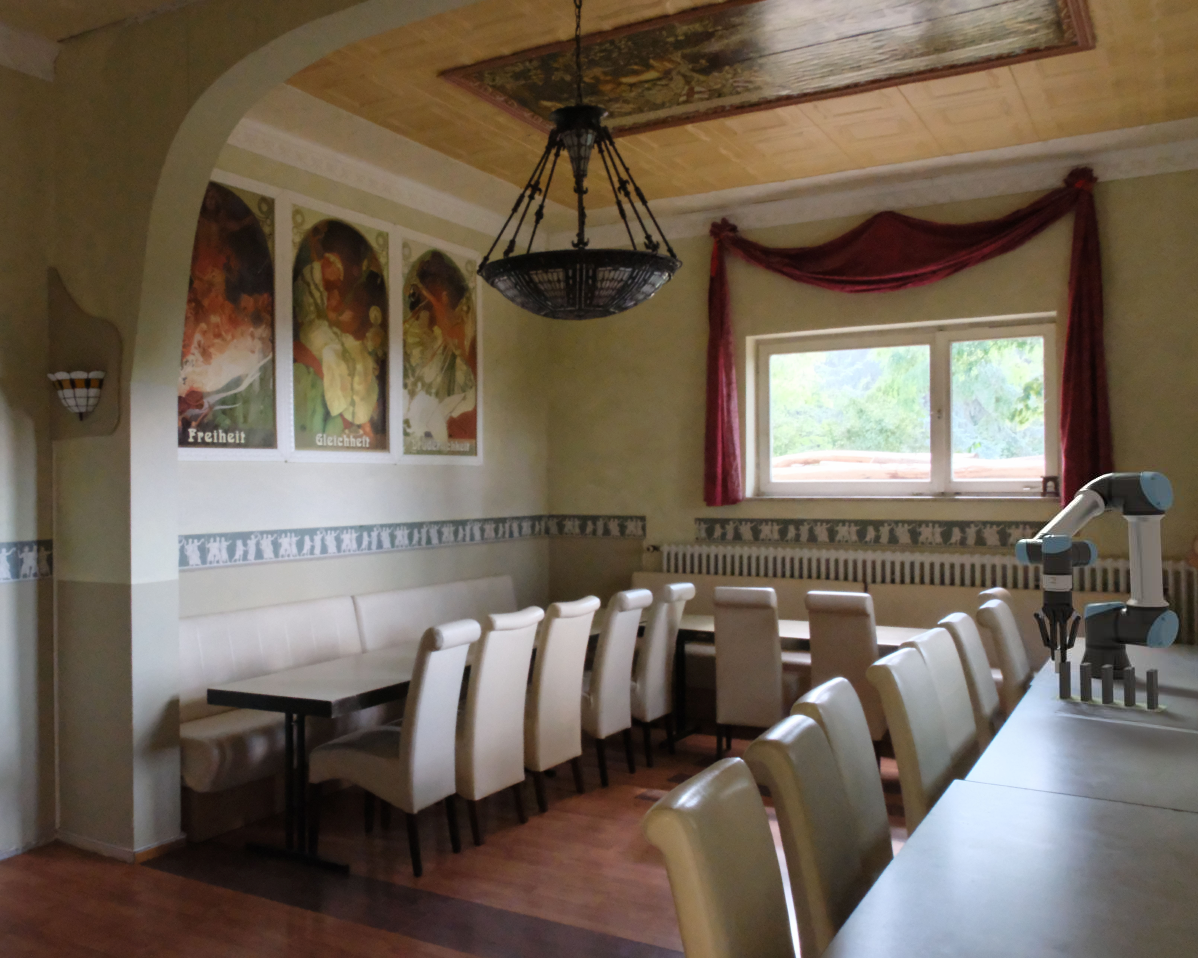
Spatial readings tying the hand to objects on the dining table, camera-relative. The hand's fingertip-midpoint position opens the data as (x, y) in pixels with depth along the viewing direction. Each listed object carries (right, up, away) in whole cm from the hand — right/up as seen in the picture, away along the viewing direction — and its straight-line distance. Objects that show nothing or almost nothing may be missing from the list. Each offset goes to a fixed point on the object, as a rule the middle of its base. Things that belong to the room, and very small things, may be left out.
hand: (1059, 672), depth 276 cm
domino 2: (+5, -7, -5) cm, 10 cm away
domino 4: (+14, -6, -12) cm, 19 cm away
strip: (+9, -7, -8) cm, 15 cm away
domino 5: (+18, -6, -16) cm, 24 cm away
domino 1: (+1, -7, -1) cm, 7 cm away
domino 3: (+9, -7, -8) cm, 14 cm away
